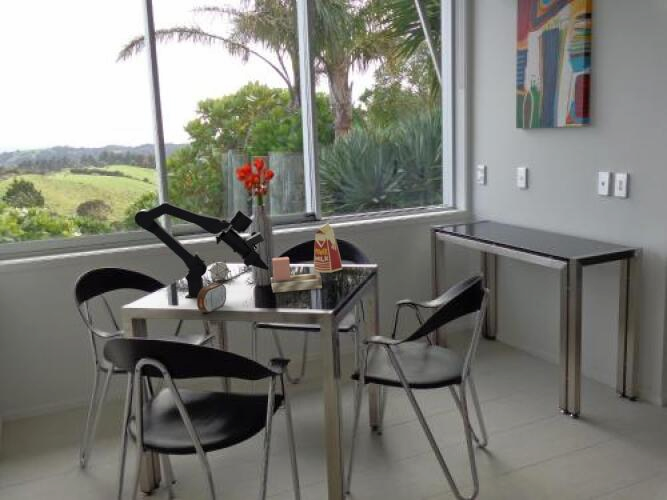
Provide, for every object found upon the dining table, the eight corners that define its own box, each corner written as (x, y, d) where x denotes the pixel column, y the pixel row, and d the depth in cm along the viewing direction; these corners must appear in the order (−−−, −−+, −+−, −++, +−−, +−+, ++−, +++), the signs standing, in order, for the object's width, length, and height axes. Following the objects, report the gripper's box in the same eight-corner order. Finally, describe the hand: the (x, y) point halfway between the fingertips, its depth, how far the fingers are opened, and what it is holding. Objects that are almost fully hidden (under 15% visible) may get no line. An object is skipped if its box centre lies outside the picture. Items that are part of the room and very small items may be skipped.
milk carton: (326, 267, 283) (323, 220, 279) (343, 269, 277) (340, 221, 274) (312, 271, 276) (308, 224, 272) (329, 273, 270) (326, 224, 267)
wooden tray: (273, 292, 242) (272, 281, 242) (271, 285, 255) (270, 274, 255) (321, 287, 245) (321, 277, 244) (317, 280, 257) (317, 270, 257)
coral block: (275, 287, 246) (272, 260, 245) (274, 284, 251) (272, 258, 250) (291, 285, 247) (289, 259, 245) (290, 282, 252) (288, 256, 250)
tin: (221, 303, 231) (218, 280, 229) (229, 304, 230) (226, 280, 228) (197, 315, 217) (194, 290, 216) (205, 316, 216) (203, 290, 214)
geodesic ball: (225, 288, 273) (237, 267, 274) (219, 285, 264) (232, 263, 265) (207, 277, 274) (219, 256, 275) (200, 274, 266) (213, 252, 267)
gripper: (250, 228, 235) (284, 256, 238) (249, 222, 253) (280, 248, 256) (229, 252, 235) (263, 280, 238) (230, 244, 253) (262, 270, 257)
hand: (268, 268), depth 247 cm, fingers closed
